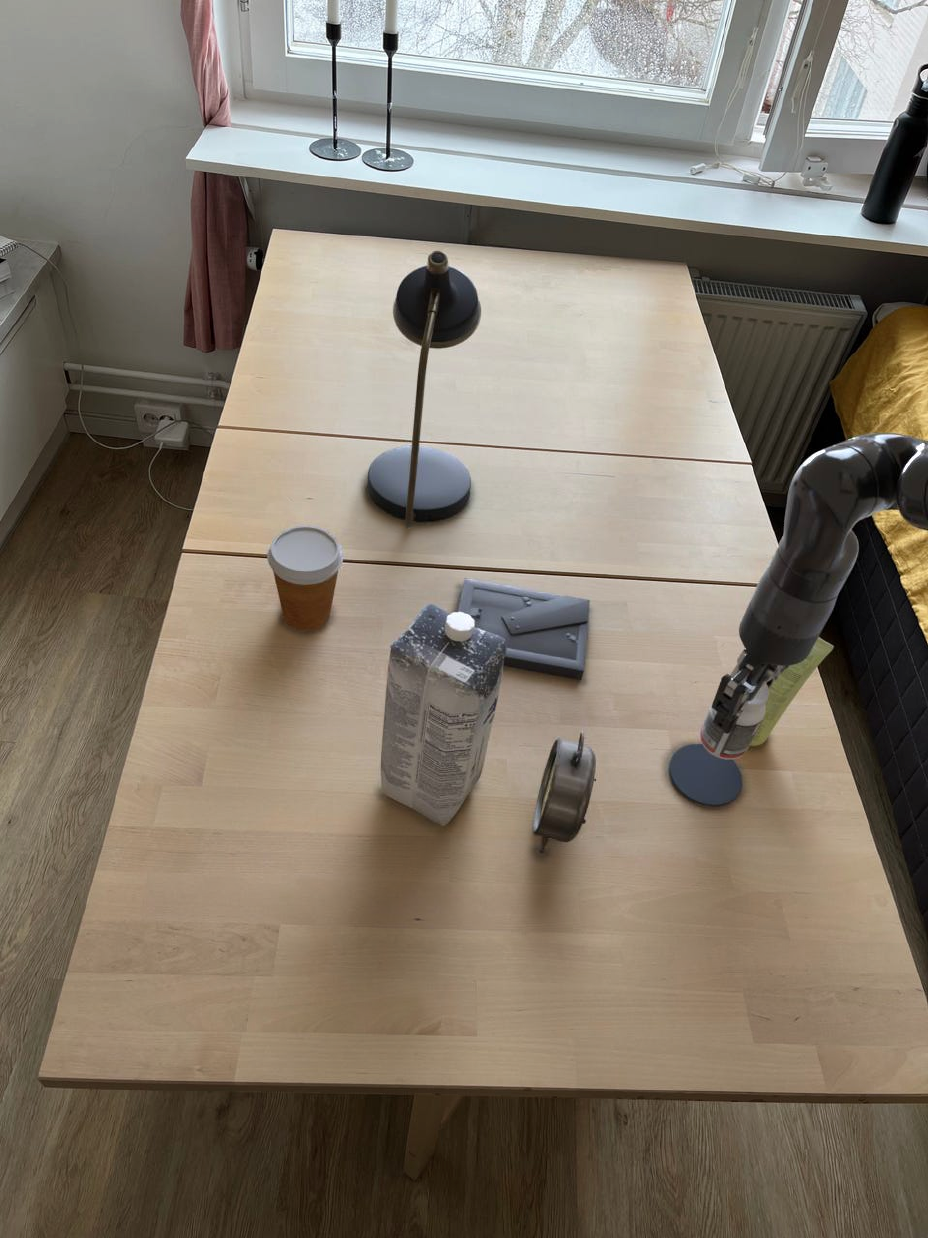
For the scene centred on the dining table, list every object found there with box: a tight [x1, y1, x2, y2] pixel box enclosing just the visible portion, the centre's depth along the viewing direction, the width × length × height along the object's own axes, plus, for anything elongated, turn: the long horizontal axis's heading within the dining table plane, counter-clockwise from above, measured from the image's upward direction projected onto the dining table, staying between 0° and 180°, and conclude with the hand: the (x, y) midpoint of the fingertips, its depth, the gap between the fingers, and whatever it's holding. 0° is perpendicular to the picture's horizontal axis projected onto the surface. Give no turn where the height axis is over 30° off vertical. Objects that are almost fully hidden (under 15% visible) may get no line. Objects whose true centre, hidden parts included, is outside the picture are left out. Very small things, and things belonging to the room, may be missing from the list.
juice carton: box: [380, 603, 507, 827], centre depth 103 cm, size 9×10×27 cm
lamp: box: [366, 250, 482, 529], centre depth 136 cm, size 16×22×38 cm
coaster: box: [668, 743, 743, 808], centre depth 118 cm, size 9×9×1 cm
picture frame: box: [456, 577, 591, 681], centre depth 131 cm, size 13×2×18 cm
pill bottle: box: [699, 682, 769, 761], centre depth 110 cm, size 6×6×10 cm
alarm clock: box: [532, 730, 597, 854], centre depth 106 cm, size 11×5×16 cm, turn 168°
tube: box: [749, 636, 835, 747], centre depth 117 cm, size 6×5×20 cm
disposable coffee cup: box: [266, 524, 344, 631], centre depth 126 cm, size 10×10×12 cm
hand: (737, 712), depth 109 cm, fingers closed on pill bottle, 5 cm apart
